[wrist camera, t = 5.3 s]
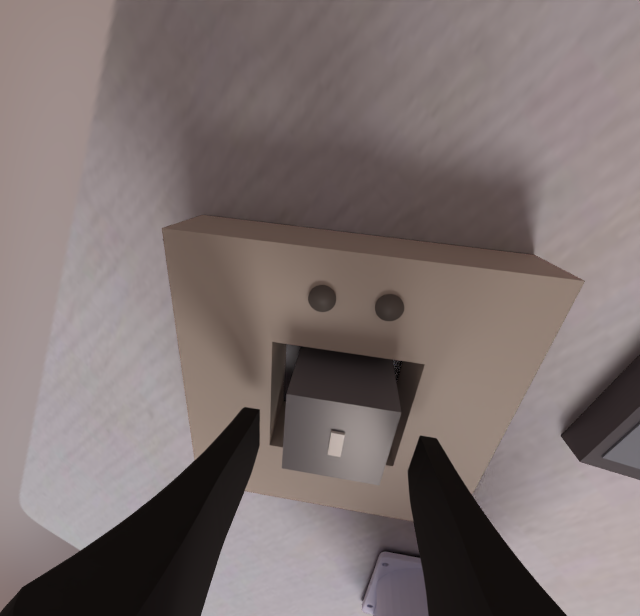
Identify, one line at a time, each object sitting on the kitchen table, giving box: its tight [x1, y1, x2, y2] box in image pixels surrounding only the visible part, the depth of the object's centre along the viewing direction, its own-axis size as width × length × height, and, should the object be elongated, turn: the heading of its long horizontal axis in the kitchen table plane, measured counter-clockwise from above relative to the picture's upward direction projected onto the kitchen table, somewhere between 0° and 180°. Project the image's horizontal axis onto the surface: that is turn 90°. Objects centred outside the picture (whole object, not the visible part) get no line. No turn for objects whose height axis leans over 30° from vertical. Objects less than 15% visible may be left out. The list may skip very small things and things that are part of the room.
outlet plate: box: [162, 215, 585, 522], centre depth 14 cm, size 14×14×3 cm
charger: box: [282, 346, 402, 485], centre depth 13 cm, size 4×4×5 cm
